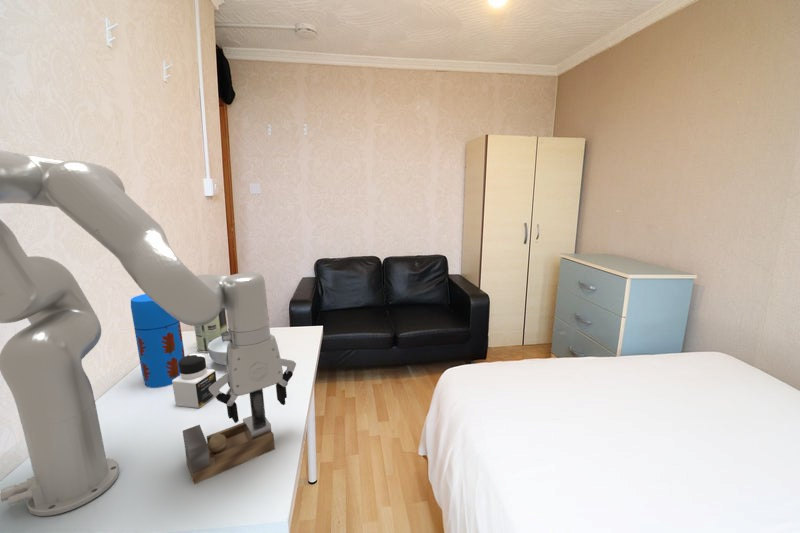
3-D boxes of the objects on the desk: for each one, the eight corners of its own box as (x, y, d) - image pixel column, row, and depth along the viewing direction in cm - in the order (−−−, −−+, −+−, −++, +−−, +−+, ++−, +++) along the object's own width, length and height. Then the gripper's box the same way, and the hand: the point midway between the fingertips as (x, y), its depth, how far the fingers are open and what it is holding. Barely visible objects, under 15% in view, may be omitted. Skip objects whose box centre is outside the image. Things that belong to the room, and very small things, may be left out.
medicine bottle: (199, 408, 91) (193, 364, 89) (175, 406, 93) (168, 362, 91) (218, 393, 98) (213, 352, 96) (195, 391, 100) (190, 350, 97)
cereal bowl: (231, 378, 106) (228, 356, 105) (199, 365, 115) (196, 344, 114) (278, 356, 121) (276, 336, 119) (246, 346, 129) (244, 327, 128)
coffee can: (218, 339, 136) (214, 303, 134) (235, 344, 131) (231, 307, 128) (190, 349, 128) (185, 310, 125) (207, 355, 122) (202, 315, 120)
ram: (252, 444, 74) (247, 400, 72) (244, 430, 79) (239, 389, 77) (272, 436, 77) (267, 393, 75) (262, 423, 81) (258, 382, 79)
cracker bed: (194, 484, 67) (189, 450, 66) (186, 460, 73) (182, 429, 72) (274, 448, 76) (271, 418, 75) (262, 430, 82) (259, 402, 81)
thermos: (190, 367, 114) (179, 289, 109) (183, 383, 104) (171, 298, 99) (149, 373, 110) (136, 293, 105) (138, 391, 100) (124, 303, 96)
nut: (210, 459, 71) (208, 443, 70) (207, 450, 73) (205, 435, 73) (229, 451, 73) (227, 436, 72) (225, 442, 75) (223, 428, 75)
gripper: (207, 352, 66) (218, 436, 69) (298, 328, 76) (304, 403, 79) (198, 339, 71) (210, 418, 75) (285, 319, 82) (291, 389, 85)
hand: (259, 410), depth 77 cm, fingers open, 9 cm apart
